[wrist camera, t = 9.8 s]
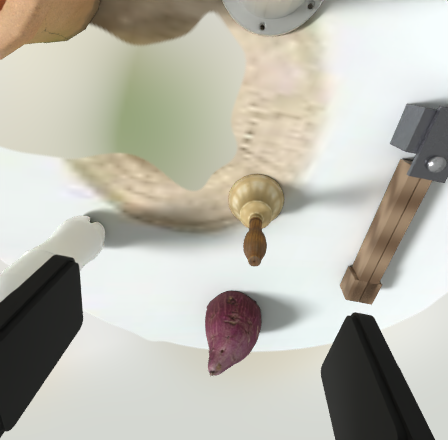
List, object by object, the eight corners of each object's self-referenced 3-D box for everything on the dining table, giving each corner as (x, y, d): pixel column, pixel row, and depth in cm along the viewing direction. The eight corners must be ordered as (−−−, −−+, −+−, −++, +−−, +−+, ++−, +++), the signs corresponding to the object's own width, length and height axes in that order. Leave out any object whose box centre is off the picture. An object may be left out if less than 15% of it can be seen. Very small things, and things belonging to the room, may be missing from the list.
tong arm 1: (412, 161, 39) (426, 168, 36) (427, 163, 39) (442, 171, 36) (352, 287, 49) (359, 302, 46) (364, 289, 49) (371, 304, 46)
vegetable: (206, 309, 59) (167, 374, 47) (223, 276, 53) (184, 341, 41) (251, 337, 58) (224, 411, 45) (274, 306, 52) (250, 382, 40)
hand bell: (253, 234, 47) (254, 304, 32) (217, 199, 44) (200, 258, 30) (295, 201, 44) (315, 264, 29) (257, 162, 41) (260, 208, 27)
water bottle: (86, 202, 47) (-65, 320, 24) (119, 234, 49) (7, 369, 27) (60, 226, 49) (-99, 352, 27) (92, 255, 51) (-31, 394, 29)
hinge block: (408, 100, 36) (433, 104, 31) (464, 111, 36) (498, 117, 31) (381, 162, 40) (400, 175, 35) (432, 172, 40) (458, 186, 35)
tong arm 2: (396, 158, 39) (408, 165, 36) (410, 160, 39) (424, 168, 36) (339, 285, 49) (345, 299, 46) (351, 287, 49) (358, 302, 46)
